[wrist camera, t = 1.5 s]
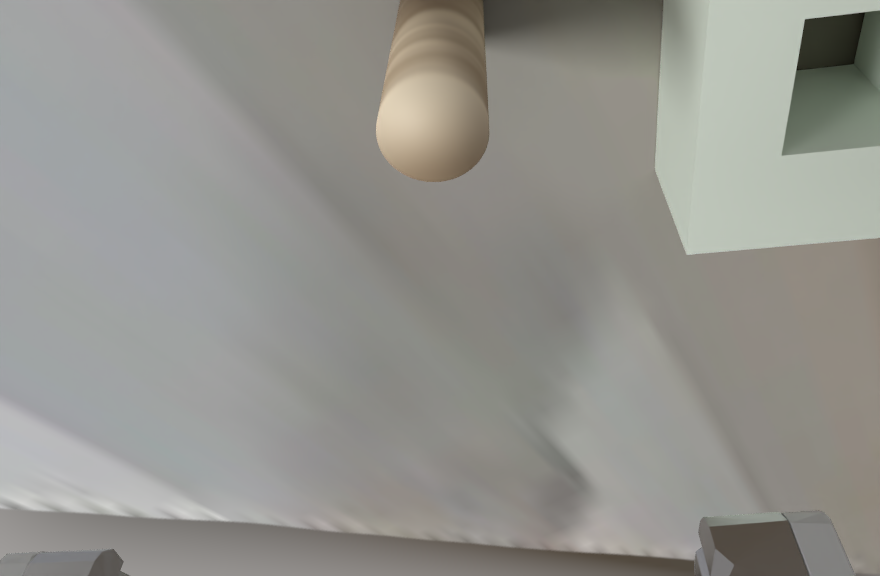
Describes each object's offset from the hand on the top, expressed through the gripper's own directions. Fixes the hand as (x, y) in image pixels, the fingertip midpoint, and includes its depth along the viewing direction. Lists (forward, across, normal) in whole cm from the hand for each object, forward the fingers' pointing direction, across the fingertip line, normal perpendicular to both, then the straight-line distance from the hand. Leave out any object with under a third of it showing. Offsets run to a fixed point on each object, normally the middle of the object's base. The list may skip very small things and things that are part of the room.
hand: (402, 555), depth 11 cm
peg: (+22, 0, 0) cm, 22 cm away
